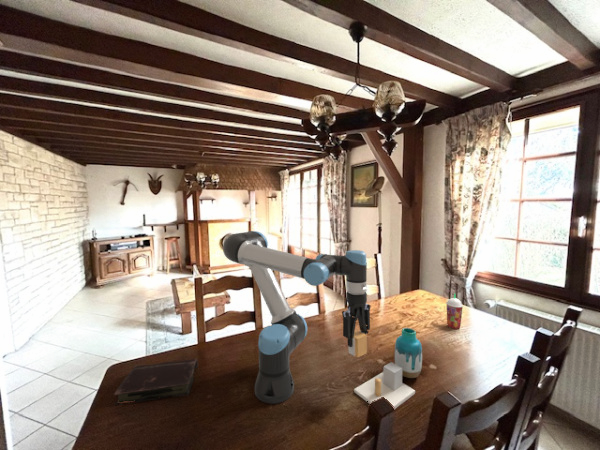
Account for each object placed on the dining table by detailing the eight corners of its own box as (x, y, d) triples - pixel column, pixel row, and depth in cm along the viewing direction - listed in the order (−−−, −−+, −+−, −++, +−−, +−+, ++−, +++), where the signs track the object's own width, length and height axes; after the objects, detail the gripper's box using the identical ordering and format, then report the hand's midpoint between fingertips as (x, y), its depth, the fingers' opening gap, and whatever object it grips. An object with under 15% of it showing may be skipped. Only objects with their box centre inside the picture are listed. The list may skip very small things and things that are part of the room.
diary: (135, 375, 110) (135, 364, 109) (197, 368, 115) (197, 357, 114) (113, 408, 91) (112, 394, 91) (188, 397, 96) (188, 384, 96)
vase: (419, 386, 101) (421, 339, 100) (391, 377, 107) (392, 332, 106) (423, 372, 110) (424, 328, 109) (397, 364, 116) (398, 322, 115)
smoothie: (462, 325, 153) (463, 292, 152) (461, 331, 146) (463, 297, 145) (445, 322, 158) (447, 290, 156) (445, 327, 151) (446, 294, 149)
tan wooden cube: (358, 357, 95) (357, 339, 95) (348, 351, 99) (347, 334, 99) (366, 353, 98) (366, 334, 98) (356, 347, 102) (356, 330, 102)
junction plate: (385, 416, 87) (385, 392, 87) (354, 392, 98) (354, 371, 98) (415, 393, 98) (415, 372, 97) (383, 374, 109) (384, 355, 108)
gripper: (346, 299, 89) (347, 364, 90) (379, 289, 100) (380, 347, 101) (332, 294, 95) (333, 355, 97) (364, 284, 106) (365, 340, 107)
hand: (357, 351), depth 99 cm, fingers closed on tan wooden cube, 5 cm apart
